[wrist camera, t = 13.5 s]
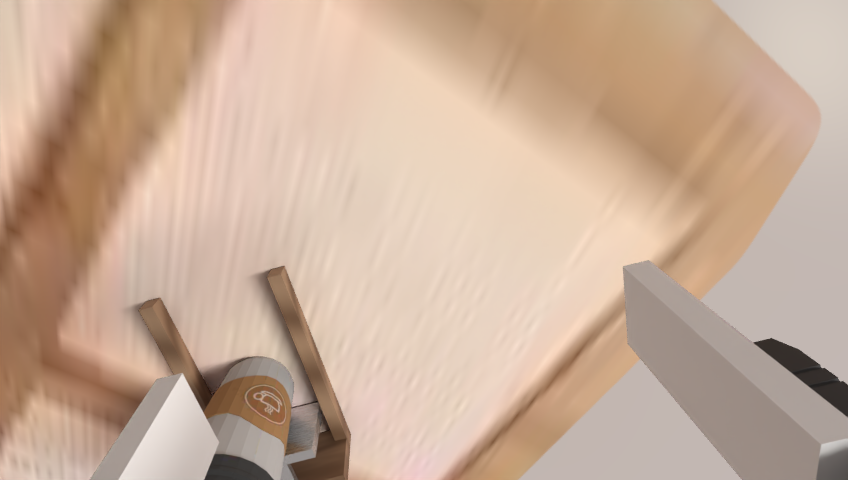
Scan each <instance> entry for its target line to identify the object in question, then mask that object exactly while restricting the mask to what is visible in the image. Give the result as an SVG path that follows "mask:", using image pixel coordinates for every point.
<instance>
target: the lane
mask: <svg viewBox="0 0 848 480" xmlns="http://www.w3.org/2000/svg"><path fill="white" fill-rule="evenodd" d="M267 279H268V281H269V284H270V286H271V288H272V291H273V293H274V296H275V298H276V300H277V303H278V305H279V308H280V310H281V313H282V315H283V317H284V320H285V322H286V325H287V327H288V329H289V332H290V334H291V337H292V339H293V341H294V344H295V346H296V349H297V351H298V353H299V356H300V358H301V361H302V363H303V365H304V368H305V370H306V373H307V375H308V378H309V380H310V382H311V385H312V387H313V390H314V392H315V394H316V397H317V399H318V402H319V404H320V406H321V409H322V411H323V414H324V416H325V418H326V421H327V423H328V426H329V428H330V431H326V432H322V433H319V438H318V445H317V451H316V457H315V458H311V459H307V460H303V461H299V462H295V463H291V466H292V468H293V470H294V472H295V474H296V476H297V478H298V480H348V469H349V455H350V441H351V434H350V431H349V429H348V426H347V424H346V421H345V418H344V416H343V413H342V411H341V408H340V406H339V403H338V401H337V398H336V396H335V393H334V391H333V388H332V386H331V383H330V380H329V378H328V375H327V373H326V370H325V368H324V365H323V363H322V360H321V358H320V355H319V353H318V350H317V348H316V345H315V342H314V340H313V337H312V335H311V332H310V330H309V327H308V325H307V322H306V320H305V317H304V315H303V312H302V310H301V307H300V304H299V302H298V299H297V297H296V294H295V292H294V289H293V287H292V284H291V282H290V279H289V277H288V274H287V272H286V269H285V266H282V267H279V268H275V269H271V270H270V273H269V275H268V277H267ZM138 311H139V312H140V314H141V316H142V318H143V320H144V321H145V323H146V325H147V327H148V329H149V330H150V332H151V334H152V336H153V338H154V339H155V341H156V343H157V345H158V347H159V348H160V350H161V352H162V354H163V356H164V357H165V359H166V361H167V363H168V365H169V367H170V368H171V370H172V372H173V374H174V375H176V374H180V373H183V375H184V377H185V379H186V381H187V383H188V384H189V386H190V388H191V390H192V392H193V394H194V396H195V398H196V400H197V402H198V403H199V405H200V407H201V409H202V411H203V412H204V410H205V409H206V407H207V405H208V404H209V402H210V400H211V399H212V395H211V393H210V391H209V389H208V387H207V385H206V384H205V382H204V380H203V378H202V376H201V374H200V372H199V370H198V368H197V366H196V365H195V363H194V361H193V359H192V357H191V355H190V353H189V351H188V349H187V347H186V346H185V344H184V342H183V340H182V338H181V336H180V334H179V332H178V330H177V328H176V327H175V325H174V323H173V321H172V319H171V317H170V315H169V313H168V311H167V309H166V308H165V306H164V304H163V302H162V300H161V298H157V299H153V300H149V301H147V302H146V303H145V304H144V305H143V306H142V307H141V308H140V309H139V310H138Z"/></svg>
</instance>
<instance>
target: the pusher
mask: <svg viewBox="0 0 848 480" xmlns="http://www.w3.org/2000/svg"><path fill="white" fill-rule="evenodd" d="M322 413H323V411H322V409H321V406H320V404H319V402H316V403H312V404H308V405H304V406H300V407H296V408H292V409H291V418H290V425H289V432H288V439H287V446H286V453H285V456H284V459H283V466H282V473H281V479H280V480H298V478H297V476H296V474H295V472H294V470H293V468H292V466H291V463H295V462H299V461H303V460H307V459H311V458H315V457H316V451H317V445H318V438H319V432H320V426H321V419H322Z"/></svg>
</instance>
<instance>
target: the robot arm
mask: <svg viewBox="0 0 848 480" xmlns="http://www.w3.org/2000/svg"><path fill="white" fill-rule="evenodd" d="M623 276H624V292H625V308H626V324H627V340H628V345H629V346H630V347H631V348H632V349H633V351H634V352H635V353H636V354H637V355H638V357H639V358H640V359H641V360H642V361H643V362H644V364H645V365H646V366H647V367H648V368H649V370H650V371H651V372H652V373H653V374H654V375H655V377H656V378H657V379H658V380H659V382H660V383H661V384H662V385H663V386H664V387H665V389H666V390H667V391H668V392H669V393H670V395H671V396H672V397H673V398H674V399H675V401H676V402H677V403H678V404H679V405H680V407H681V408H682V409H683V410H684V411H685V413H686V414H687V415H688V416H689V417H690V418H691V420H692V421H693V422H694V423H695V424H696V426H697V427H698V428H699V429H700V430H701V432H702V433H703V434H704V435H705V436H706V437H707V439H708V440H709V441H710V442H711V443H712V444H713V446H714V447H715V448H716V449H717V451H718V452H719V453H720V454H721V455H722V457H724V459H725V460H726V461H727V463H728V464H729V465H730V466H731V467H732V468H733V470H734V471H735V472H736V473H737V474H738V476H739V477H740V478H741V479H742V480H848V385H847V384H846V383H845V382H843V381H842V382H840V381H839V379H838V377H836V376H835V375H833V374H832V373H831V372H829V371H828V370H827V369H825V368H821V367H820V364H818V363H817V362H815V361H814V360H813V359H811V358H810V357H808V356H807V355H806V354H804V353H803V352H802V351H800V350H799V349H796V348H794V347H792V346H789V345H787V344H784V343H782V342H779V341H777V340H774V339H772V338H770V339H766V340H762V341H758V342H754V343H753V342H752V341H750V340H749V339H748V338H746V337H745V336H744V335H742V334H741V333H740V332H739V331H738V330H736V329H735V328H734V327H733V326H731V325H730V324H729V323H727V322H726V321H725V320H723V319H722V318H721V317H720V316H719V315H717V314H716V313H715V312H714V311H712V310H711V309H710V308H708V307H707V306H706V305H705V304H703V303H702V302H701V301H700V300H698V299H697V298H696V297H695V296H693V295H692V294H691V293H689V292H688V291H687V290H686V289H684V288H683V287H682V286H681V285H679V284H678V283H677V282H676V281H674V280H673V279H672V278H670V277H669V276H668V275H667V274H665V273H664V272H663V271H662V270H660V269H659V268H658V267H657V266H655V265H654V264H653V263H651V262H650V261H649V260H648V261H644V262H640V263H635V264H631V265H627V266H623ZM218 444H219V441H218V439H217V437H216V436H215V434H214V432H213V430H212V428H211V426H210V424H209V422H208V420H207V419H206V417H205V415H204V413H203V411H202V409H201V407H200V405H199V403H198V402H197V400H196V398H195V396H194V394H193V392H192V390H191V388H190V386H189V384H188V383H187V381H186V379H185V377H184V375H183V373H180V374H176V375H172V376H168V377H164V378H160V379H157V380H156V381H155V383H154V384H153V386H152V387H151V389H150V390H149V392H148V393H147V395H146V396H145V398H144V399H143V401H142V402H141V404H140V405H139V407H138V408H137V410H136V411H135V413H134V414H133V416H132V417H131V419H130V420H129V422H128V423H127V425H126V426H125V428H124V429H123V431H122V432H121V434H120V435H119V437H118V438H117V440H116V441H115V443H114V444H113V446H112V447H111V449H110V450H109V452H108V453H107V455H106V456H105V458H104V459H103V461H102V462H101V464H100V465H99V467H98V468H97V470H96V471H95V473H94V474H93V476H92V477H91V479H90V480H204V479H205V476H206V474H207V471H208V469H209V466H210V464H211V461H212V459H213V456H214V454H215V451H216V449H217V446H218Z"/></svg>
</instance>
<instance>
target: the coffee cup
mask: <svg viewBox="0 0 848 480" xmlns="http://www.w3.org/2000/svg"><path fill="white" fill-rule="evenodd" d="M293 393H294V382H293V379H292V377H291V375H290V373H289V371H288V370H287V369H286V367H285V366H283V365H282V364H281V363H280V362H278V361H276V360H274V359H271V358H267V357H252V358H248V359H245V360H243V361H241V362H239V363H237V364H236V365H235V366H233V367H232V368H231V369H230V370H229V372H228V373H227V375H226V377H225V378H224V380H223V382H222V384H221V385H220V387H219V389H217V391H216V392H215V394H214V395H213V397H212V399H211V400H210V402H209V404H208V405H207V407H206V409H205V410H204V412H203V413H204V415H205V417H206V419H207V420H208V422H209V424H210V426H211V428H212V430H213V432H214V434H215V436H216V437H217V439H218V441H219V444H218V446H217V449H216V451H215V454H214V456H213V459H212V461H211V464H210V466H209V469H208V471H207V474H206V476H205V479H204V480H280V479H281V473H282V466H283V459H284V456H285V453H286V446H287V439H288V432H289V425H290V418H291V406H292V399H293Z"/></svg>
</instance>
